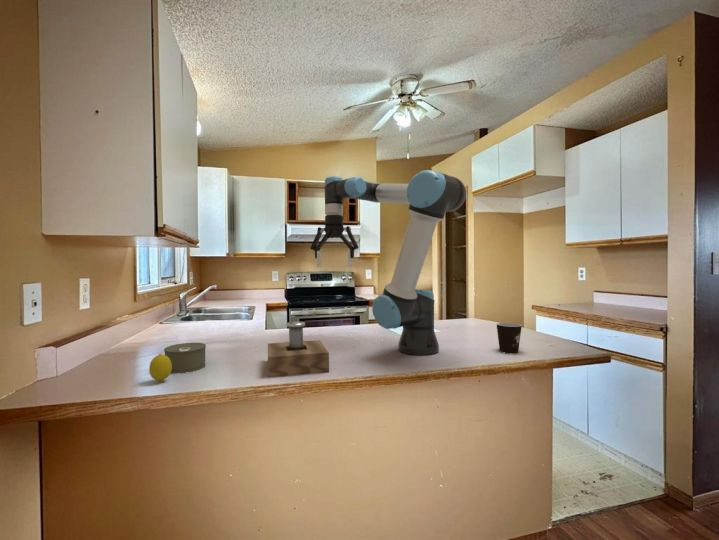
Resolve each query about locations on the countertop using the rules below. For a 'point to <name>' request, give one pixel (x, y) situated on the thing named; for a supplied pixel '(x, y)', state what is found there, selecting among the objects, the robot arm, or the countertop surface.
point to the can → (186, 357)
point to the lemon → (160, 367)
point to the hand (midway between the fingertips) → (334, 266)
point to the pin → (295, 335)
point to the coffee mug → (509, 337)
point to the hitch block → (297, 359)
